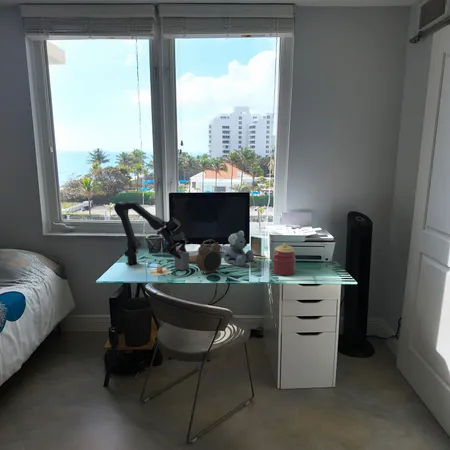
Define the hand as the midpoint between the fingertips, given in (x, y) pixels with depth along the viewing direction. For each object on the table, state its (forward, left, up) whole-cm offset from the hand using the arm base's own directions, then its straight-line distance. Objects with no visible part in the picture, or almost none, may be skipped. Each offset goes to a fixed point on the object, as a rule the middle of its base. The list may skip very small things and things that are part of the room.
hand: (183, 257), depth 207 cm
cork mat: (-5, -14, -8) cm, 17 cm away
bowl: (-16, +14, -8) cm, 23 cm away
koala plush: (+5, +35, -8) cm, 37 cm away
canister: (+37, +45, -8) cm, 59 cm away
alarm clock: (+13, +9, -8) cm, 18 cm away
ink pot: (-5, -14, -8) cm, 16 cm away
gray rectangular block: (-1, -1, -7) cm, 7 cm away
